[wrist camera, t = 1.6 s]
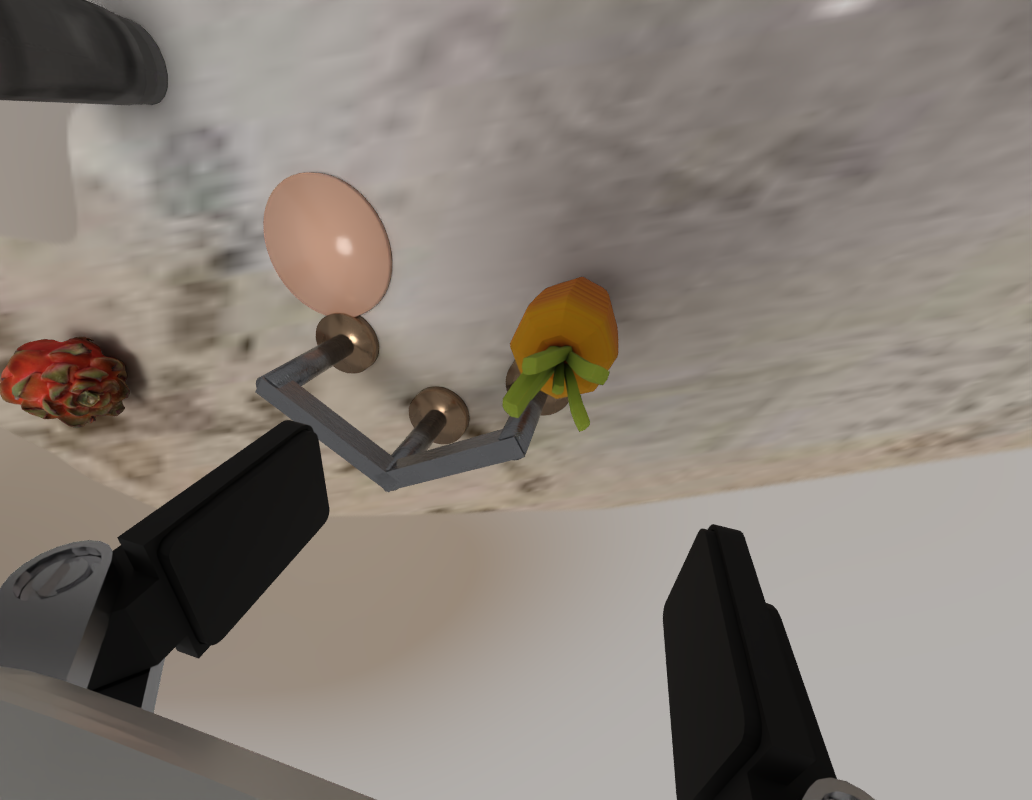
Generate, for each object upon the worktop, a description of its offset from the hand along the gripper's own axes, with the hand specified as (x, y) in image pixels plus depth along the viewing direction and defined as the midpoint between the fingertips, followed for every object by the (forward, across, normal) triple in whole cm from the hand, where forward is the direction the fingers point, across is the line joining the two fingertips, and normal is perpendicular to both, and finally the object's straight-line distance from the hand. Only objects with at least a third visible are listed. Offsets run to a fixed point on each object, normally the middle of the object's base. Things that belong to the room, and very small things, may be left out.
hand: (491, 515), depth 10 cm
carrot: (+21, 0, 0) cm, 21 cm away
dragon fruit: (+21, +47, +16) cm, 54 cm away
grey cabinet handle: (+21, +10, +9) cm, 25 cm away
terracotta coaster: (+21, +19, 0) cm, 28 cm away
